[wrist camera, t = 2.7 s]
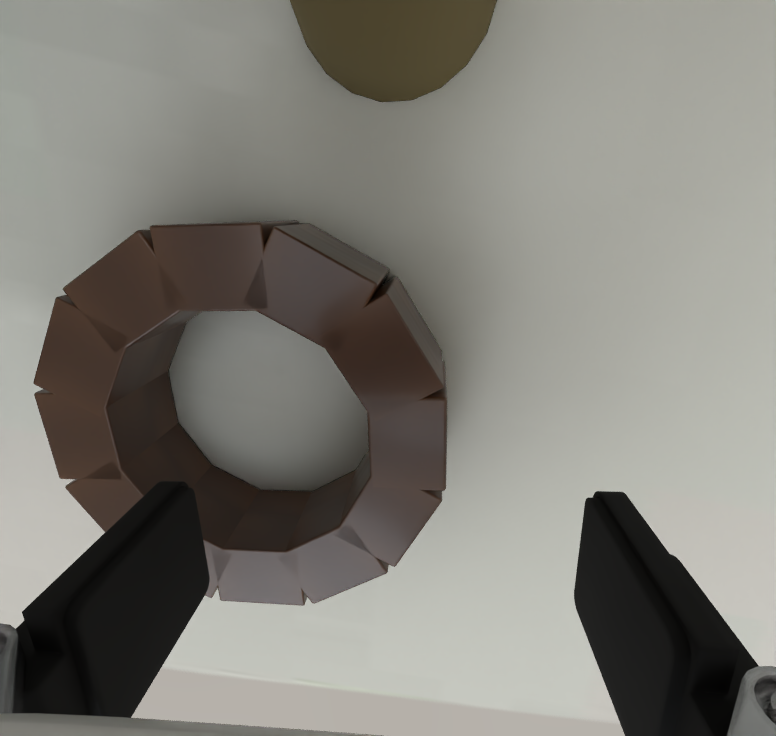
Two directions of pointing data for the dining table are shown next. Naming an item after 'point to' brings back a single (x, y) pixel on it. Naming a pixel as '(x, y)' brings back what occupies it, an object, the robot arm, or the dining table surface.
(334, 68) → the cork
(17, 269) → the dining table surface
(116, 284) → the hoop
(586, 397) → the dining table surface
